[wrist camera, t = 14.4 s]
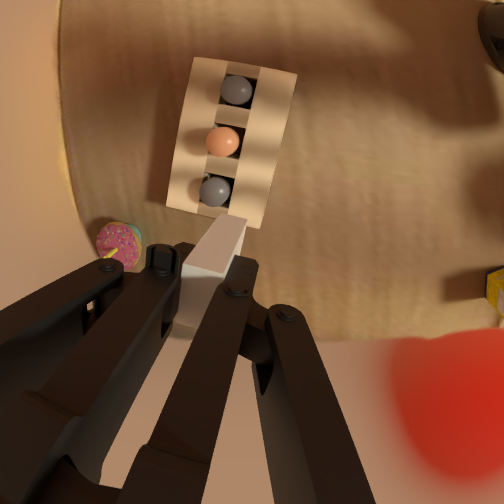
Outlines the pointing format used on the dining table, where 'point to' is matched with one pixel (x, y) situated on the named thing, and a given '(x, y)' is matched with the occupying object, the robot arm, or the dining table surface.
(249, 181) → the panel
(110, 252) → the cupcake
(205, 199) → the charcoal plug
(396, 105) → the dining table surface
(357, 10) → the dining table surface
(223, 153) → the terracotta plug
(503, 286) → the supplement box
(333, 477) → the robot arm
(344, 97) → the dining table surface
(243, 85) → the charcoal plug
